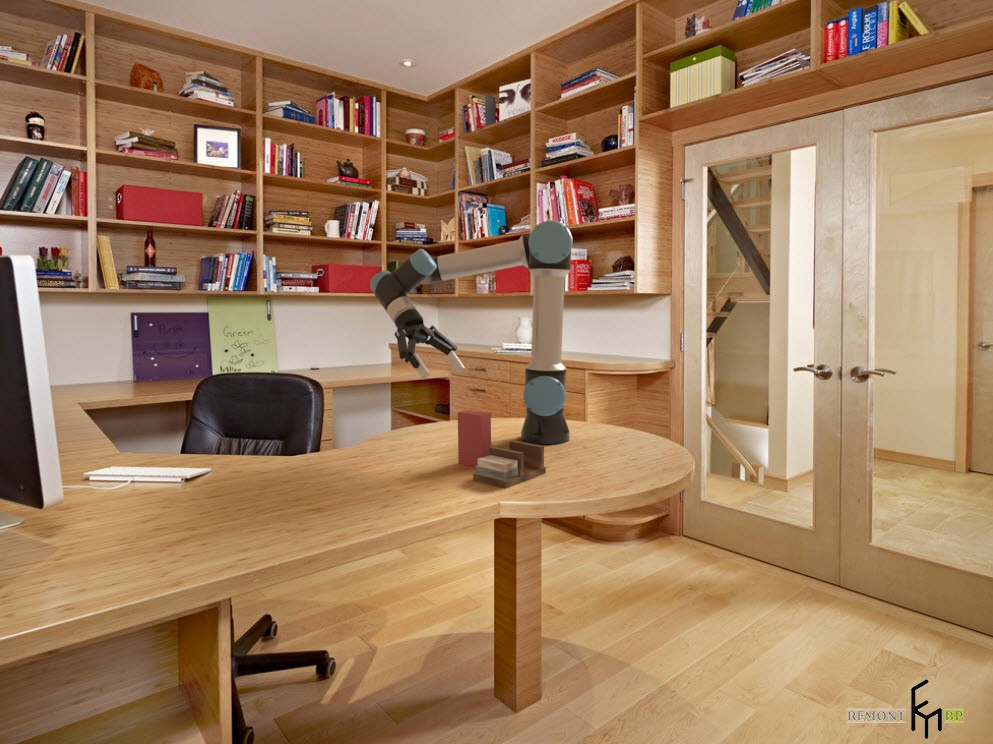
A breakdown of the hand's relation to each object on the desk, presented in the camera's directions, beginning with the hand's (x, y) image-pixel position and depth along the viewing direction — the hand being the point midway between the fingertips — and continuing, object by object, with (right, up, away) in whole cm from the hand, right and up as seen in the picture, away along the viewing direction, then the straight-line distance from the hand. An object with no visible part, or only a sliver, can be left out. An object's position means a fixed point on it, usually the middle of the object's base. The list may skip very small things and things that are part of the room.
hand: (444, 373), depth 167 cm
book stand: (+17, -25, -15) cm, 34 cm away
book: (+8, -24, -4) cm, 26 cm away
